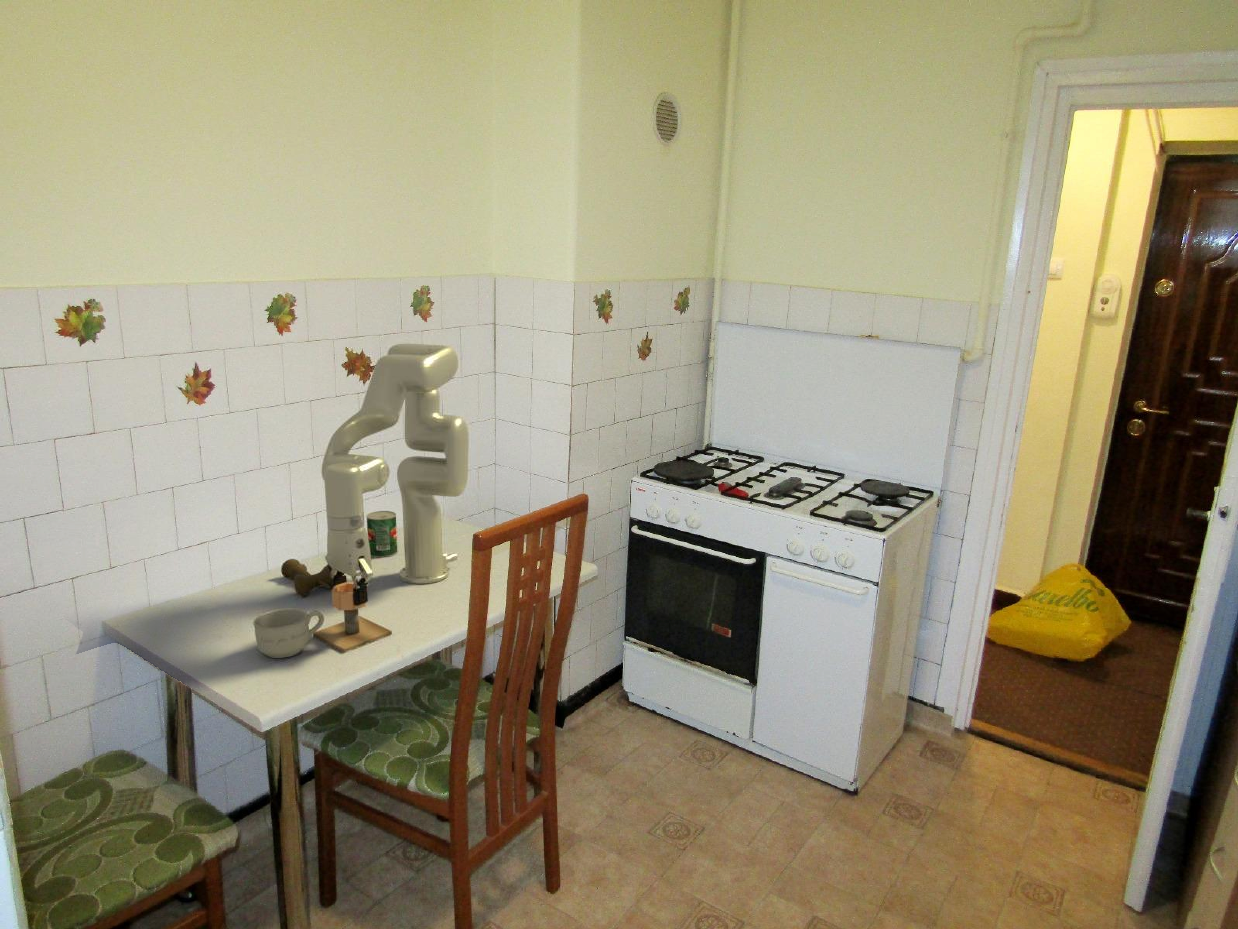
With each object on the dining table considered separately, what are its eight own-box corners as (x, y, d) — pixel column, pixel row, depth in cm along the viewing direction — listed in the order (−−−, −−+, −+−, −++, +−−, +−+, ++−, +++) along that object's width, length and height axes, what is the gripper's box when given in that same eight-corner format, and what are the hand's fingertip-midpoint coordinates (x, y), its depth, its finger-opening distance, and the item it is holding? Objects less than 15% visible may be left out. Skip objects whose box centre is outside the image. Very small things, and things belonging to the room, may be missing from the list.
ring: (355, 594, 197) (354, 579, 197) (373, 603, 193) (372, 587, 192) (327, 604, 192) (326, 588, 191) (345, 612, 188) (344, 597, 187)
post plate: (360, 619, 203) (358, 593, 201) (391, 634, 195) (390, 607, 194) (313, 636, 194) (311, 609, 192) (344, 652, 186) (342, 624, 185)
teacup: (257, 667, 180) (254, 631, 178) (255, 645, 189) (252, 610, 187) (328, 655, 185) (326, 620, 183) (323, 634, 195) (321, 601, 193)
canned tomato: (363, 552, 246) (361, 514, 243) (388, 546, 251) (387, 508, 248) (377, 559, 240) (375, 521, 237) (403, 553, 245) (401, 515, 243)
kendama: (308, 573, 231) (348, 592, 218) (273, 584, 224) (311, 604, 211) (305, 552, 230) (345, 570, 216) (270, 562, 223) (309, 581, 210)
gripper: (385, 526, 185) (389, 604, 190) (337, 509, 196) (342, 584, 201) (354, 534, 180) (359, 615, 184) (307, 516, 191) (312, 593, 195)
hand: (350, 598), depth 192 cm, fingers closed on ring, 7 cm apart
